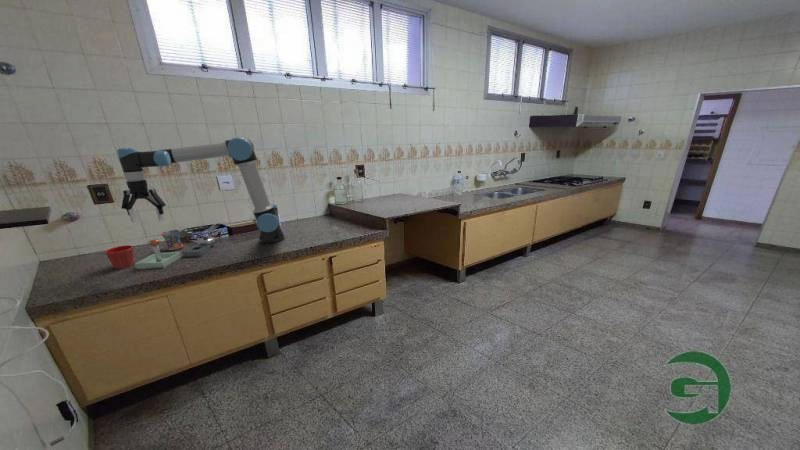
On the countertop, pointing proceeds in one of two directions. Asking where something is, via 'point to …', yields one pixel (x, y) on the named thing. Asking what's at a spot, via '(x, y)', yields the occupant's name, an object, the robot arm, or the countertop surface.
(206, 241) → the tensioner block
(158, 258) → the orange capped clear bottle
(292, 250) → the countertop surface
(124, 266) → the flower pot
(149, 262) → the tray
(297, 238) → the countertop surface
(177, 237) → the mug
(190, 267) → the countertop surface
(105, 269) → the countertop surface
